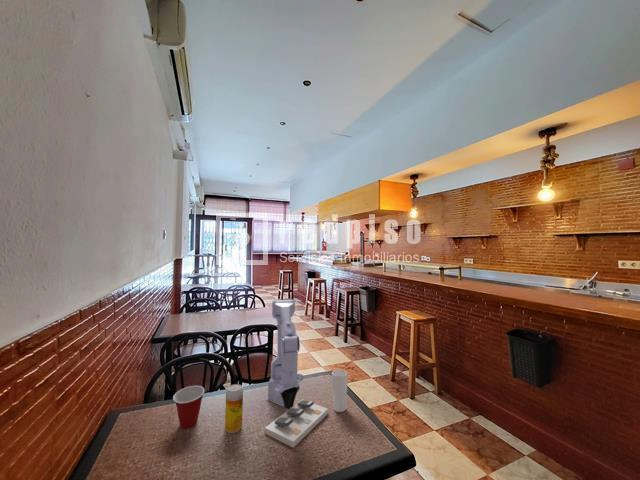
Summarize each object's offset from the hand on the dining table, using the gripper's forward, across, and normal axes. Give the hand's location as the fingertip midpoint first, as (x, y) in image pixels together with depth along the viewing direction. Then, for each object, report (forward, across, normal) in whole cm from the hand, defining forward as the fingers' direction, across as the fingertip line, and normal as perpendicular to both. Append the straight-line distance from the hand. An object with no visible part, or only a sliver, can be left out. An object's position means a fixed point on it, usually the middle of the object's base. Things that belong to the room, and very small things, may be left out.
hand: (288, 407), depth 99 cm
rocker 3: (+6, +14, +2) cm, 15 cm away
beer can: (+10, -9, +19) cm, 23 cm away
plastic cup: (+10, -17, +35) cm, 40 cm away
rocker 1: (+6, 0, +2) cm, 6 cm away
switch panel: (+9, +7, +1) cm, 12 cm away
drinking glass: (+10, +24, -8) cm, 27 cm away
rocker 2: (+6, +7, +2) cm, 9 cm away
